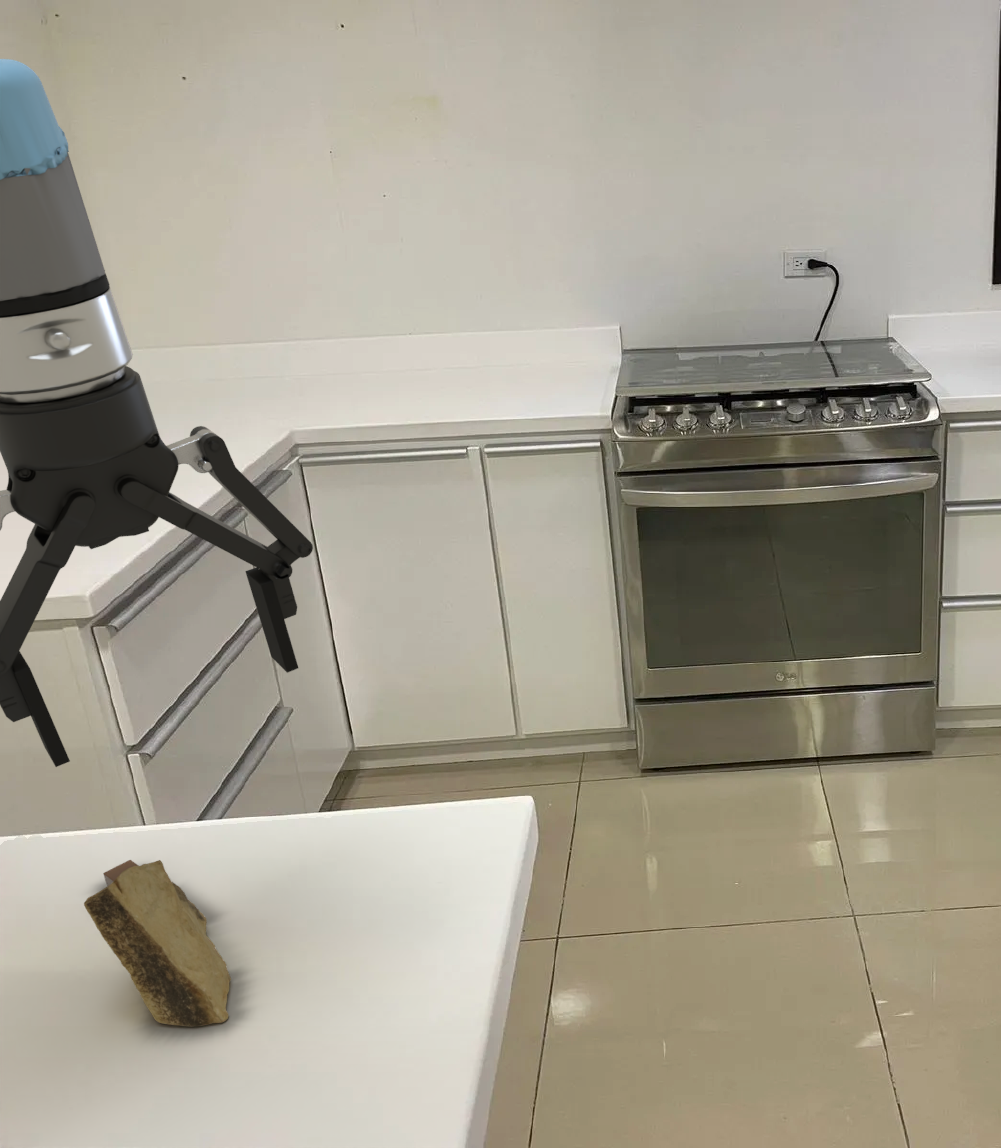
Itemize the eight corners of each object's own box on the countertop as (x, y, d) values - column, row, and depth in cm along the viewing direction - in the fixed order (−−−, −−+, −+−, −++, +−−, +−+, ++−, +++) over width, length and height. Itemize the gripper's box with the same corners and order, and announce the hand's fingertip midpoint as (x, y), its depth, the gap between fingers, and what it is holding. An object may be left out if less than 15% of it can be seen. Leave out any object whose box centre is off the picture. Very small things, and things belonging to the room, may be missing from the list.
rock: (130, 892, 78) (33, 982, 68) (183, 802, 76) (91, 882, 66) (267, 971, 79) (191, 1071, 69) (323, 885, 77) (253, 975, 67)
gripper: (-228, 467, 50) (-42, 831, 60) (314, 338, 64) (390, 650, 74) (-240, 426, 55) (-67, 769, 65) (265, 315, 69) (343, 610, 79)
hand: (177, 706), depth 70 cm, fingers open, 13 cm apart
